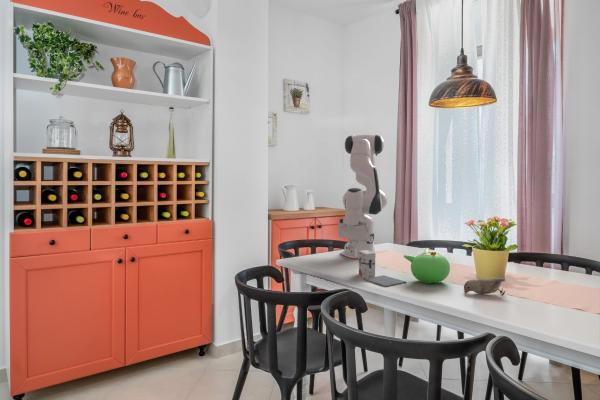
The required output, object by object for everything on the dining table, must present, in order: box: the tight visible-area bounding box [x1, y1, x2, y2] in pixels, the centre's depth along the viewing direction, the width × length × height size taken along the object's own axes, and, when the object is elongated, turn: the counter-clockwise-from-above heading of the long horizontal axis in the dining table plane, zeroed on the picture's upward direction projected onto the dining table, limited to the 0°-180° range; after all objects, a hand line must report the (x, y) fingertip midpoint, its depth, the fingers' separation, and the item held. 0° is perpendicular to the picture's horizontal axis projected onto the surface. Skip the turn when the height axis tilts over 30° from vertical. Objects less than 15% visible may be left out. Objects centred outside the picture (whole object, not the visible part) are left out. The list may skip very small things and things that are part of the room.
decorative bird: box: [463, 277, 506, 297], centre depth 175 cm, size 5×16×8 cm, turn 82°
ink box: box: [358, 250, 376, 279], centre depth 204 cm, size 8×5×12 cm, turn 17°
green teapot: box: [403, 248, 451, 284], centre depth 193 cm, size 18×17×15 cm
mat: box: [363, 275, 407, 288], centre depth 194 cm, size 14×13×1 cm
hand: (353, 248), depth 211 cm, fingers closed
